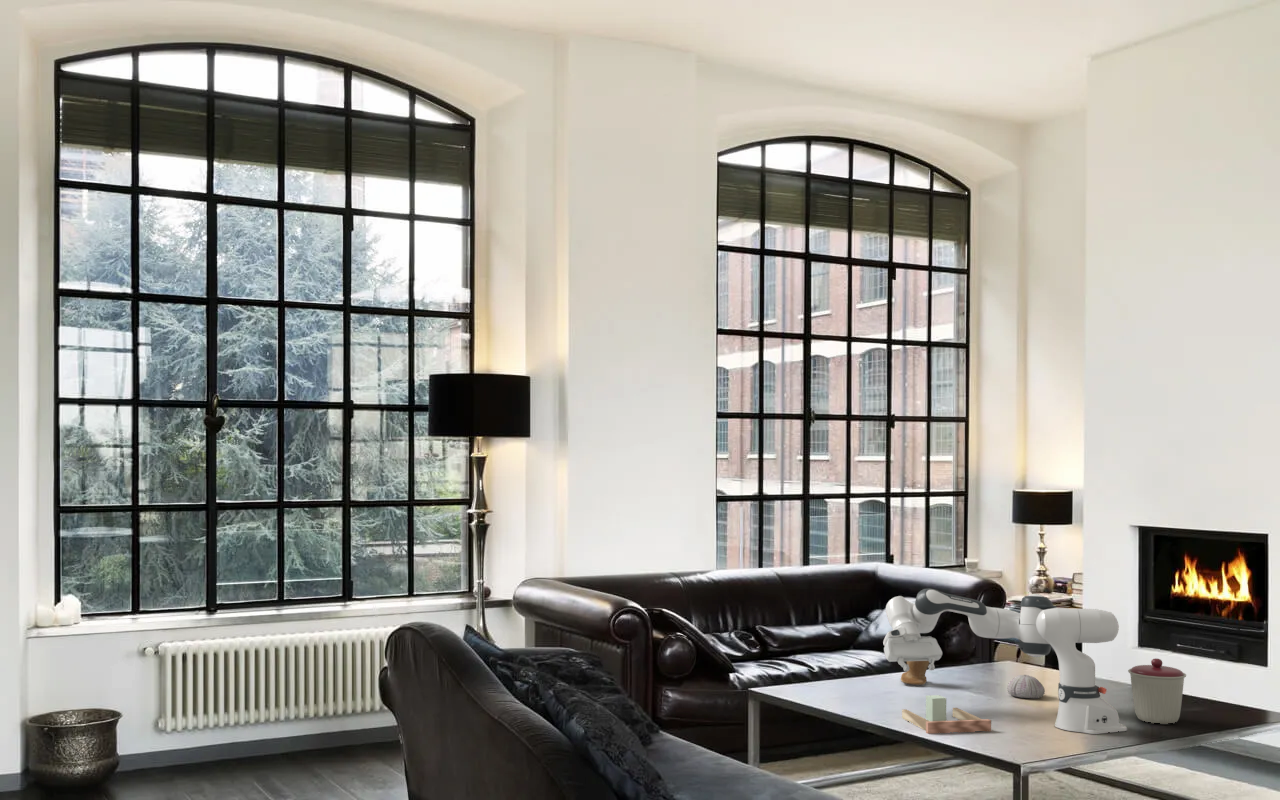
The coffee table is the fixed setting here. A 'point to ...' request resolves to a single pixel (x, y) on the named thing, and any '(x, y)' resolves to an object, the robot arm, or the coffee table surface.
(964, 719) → the bay
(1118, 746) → the coffee table surface
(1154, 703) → the canister
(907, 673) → the tan boot
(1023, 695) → the sea urchin shell
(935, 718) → the pale green block
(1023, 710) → the coffee table surface
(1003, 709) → the coffee table surface
